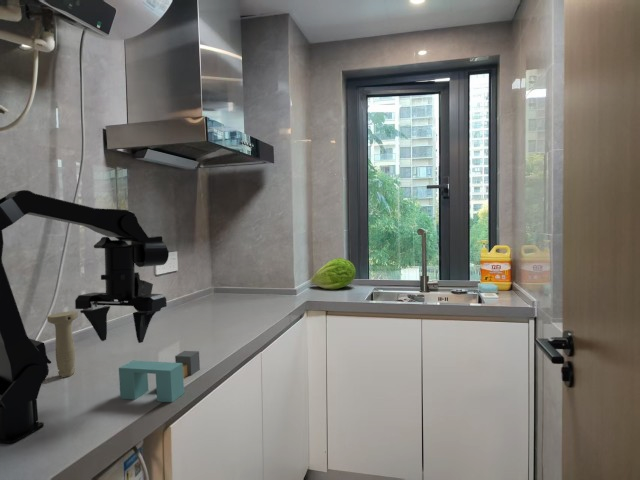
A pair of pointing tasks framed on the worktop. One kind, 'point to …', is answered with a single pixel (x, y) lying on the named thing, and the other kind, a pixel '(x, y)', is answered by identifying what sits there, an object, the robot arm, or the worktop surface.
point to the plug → (189, 362)
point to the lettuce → (335, 274)
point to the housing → (137, 379)
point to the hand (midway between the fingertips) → (122, 341)
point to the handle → (64, 341)
